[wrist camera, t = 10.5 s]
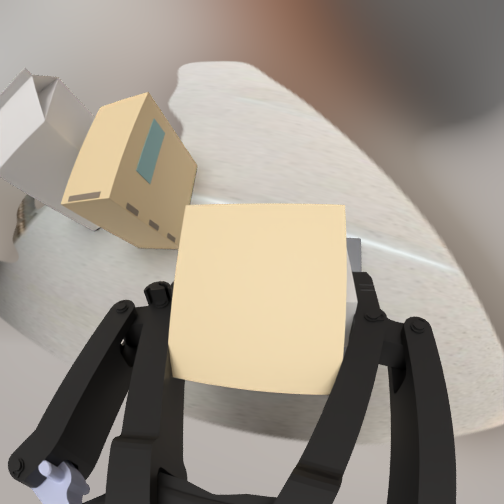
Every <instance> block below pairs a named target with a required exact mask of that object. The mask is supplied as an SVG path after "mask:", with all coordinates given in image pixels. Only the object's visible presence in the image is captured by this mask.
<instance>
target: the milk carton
mask: <svg viewBox="0 0 504 504" xmlns="http://www.w3.org/2000/svg"><path fill="white" fill-rule="evenodd" d="M94 119H95V116H94V115H92V113H91V112H90V111H89V110H88V109H87V108H86V107H85V106H84V105H83V103H82V102H81V101H80V100H79V99H78V98H77V97H76V96H75V95H74V94H73V93H72V92H71V91H70V89H69V88H68V87H67V86H66V85H65V84H64V83H63V82H62V81H61V80H60V79H59V77H51V76H39V75H32V74H31V73H30V72H29V71H28V70H27V69H26V68H24V69H23V70H22V71H21V72H20V73H19V74H18V75H17V76H16V77H15V78H14V79H13V80H12V81H11V82H10V84H9V85H8V86H7V87H6V88H5V89H4V90H3V92H2V93H1V94H0V177H1V178H2V179H4V180H5V181H7V182H9V183H10V184H12V185H13V186H15V187H17V188H18V189H20V190H21V191H23V192H25V193H27V194H28V195H30V196H32V197H33V198H35V199H37V200H38V201H40V202H42V203H44V204H45V205H47V206H49V207H51V208H52V209H54V210H56V211H58V212H59V213H61V214H63V215H65V216H67V217H68V218H70V219H72V220H74V221H76V222H78V223H79V224H81V225H83V226H85V227H87V228H89V229H91V230H93V231H95V230H97V229H98V228H100V227H99V226H97V225H96V224H94V223H92V222H90V221H88V220H87V219H85V218H83V217H81V216H80V215H78V214H76V213H74V212H73V211H71V210H69V209H68V208H66V207H64V206H63V205H61V201H62V198H63V195H64V192H65V189H66V186H67V183H68V180H69V177H70V175H71V172H72V169H73V167H74V164H75V162H76V159H77V157H78V154H79V152H80V149H81V147H82V145H83V142H84V140H85V138H86V136H87V133H88V131H89V129H90V127H91V125H92V123H93V121H94Z"/></svg>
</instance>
